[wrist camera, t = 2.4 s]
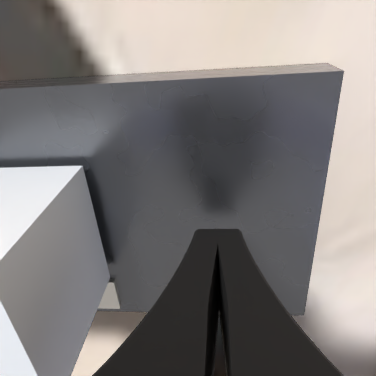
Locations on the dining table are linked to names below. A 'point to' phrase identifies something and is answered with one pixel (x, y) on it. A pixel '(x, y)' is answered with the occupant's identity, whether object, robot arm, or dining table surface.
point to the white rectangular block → (47, 269)
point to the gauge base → (186, 164)
